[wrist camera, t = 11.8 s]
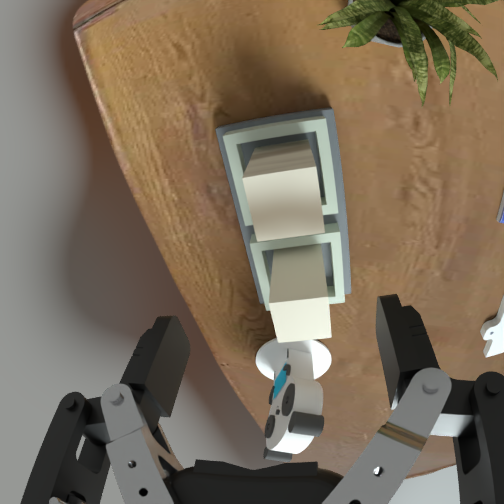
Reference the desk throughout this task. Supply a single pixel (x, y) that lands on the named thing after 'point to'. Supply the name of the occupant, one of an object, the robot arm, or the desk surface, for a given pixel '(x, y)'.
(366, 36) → the house plant
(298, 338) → the base board
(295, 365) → the panda figurine
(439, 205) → the desk surface
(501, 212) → the hard drive
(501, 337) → the mounting plate
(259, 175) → the loose block
